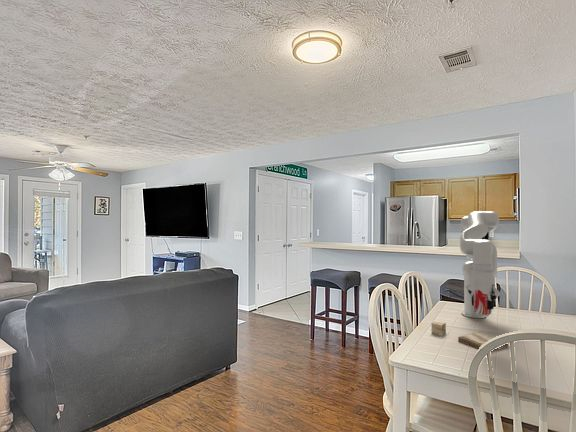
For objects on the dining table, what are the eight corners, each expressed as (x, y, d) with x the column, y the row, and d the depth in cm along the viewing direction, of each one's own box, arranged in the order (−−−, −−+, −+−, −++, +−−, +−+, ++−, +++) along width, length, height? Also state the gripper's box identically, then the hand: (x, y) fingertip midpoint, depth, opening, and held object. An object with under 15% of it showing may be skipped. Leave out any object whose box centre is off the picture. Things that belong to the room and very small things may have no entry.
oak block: (435, 330, 171) (435, 320, 171) (445, 333, 168) (445, 323, 168) (431, 333, 168) (431, 322, 168) (441, 335, 164) (441, 325, 164)
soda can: (472, 311, 157) (472, 285, 157) (489, 312, 155) (489, 286, 155) (475, 315, 151) (475, 288, 151) (493, 316, 148) (493, 289, 148)
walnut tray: (478, 336, 162) (478, 332, 162) (508, 346, 149) (507, 341, 149) (458, 341, 156) (458, 336, 156) (486, 351, 143) (486, 346, 143)
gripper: (459, 266, 159) (459, 303, 159) (495, 271, 144) (495, 313, 143) (470, 265, 163) (470, 302, 162) (506, 270, 147) (506, 311, 147)
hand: (482, 306), depth 153 cm, fingers closed on soda can, 7 cm apart
